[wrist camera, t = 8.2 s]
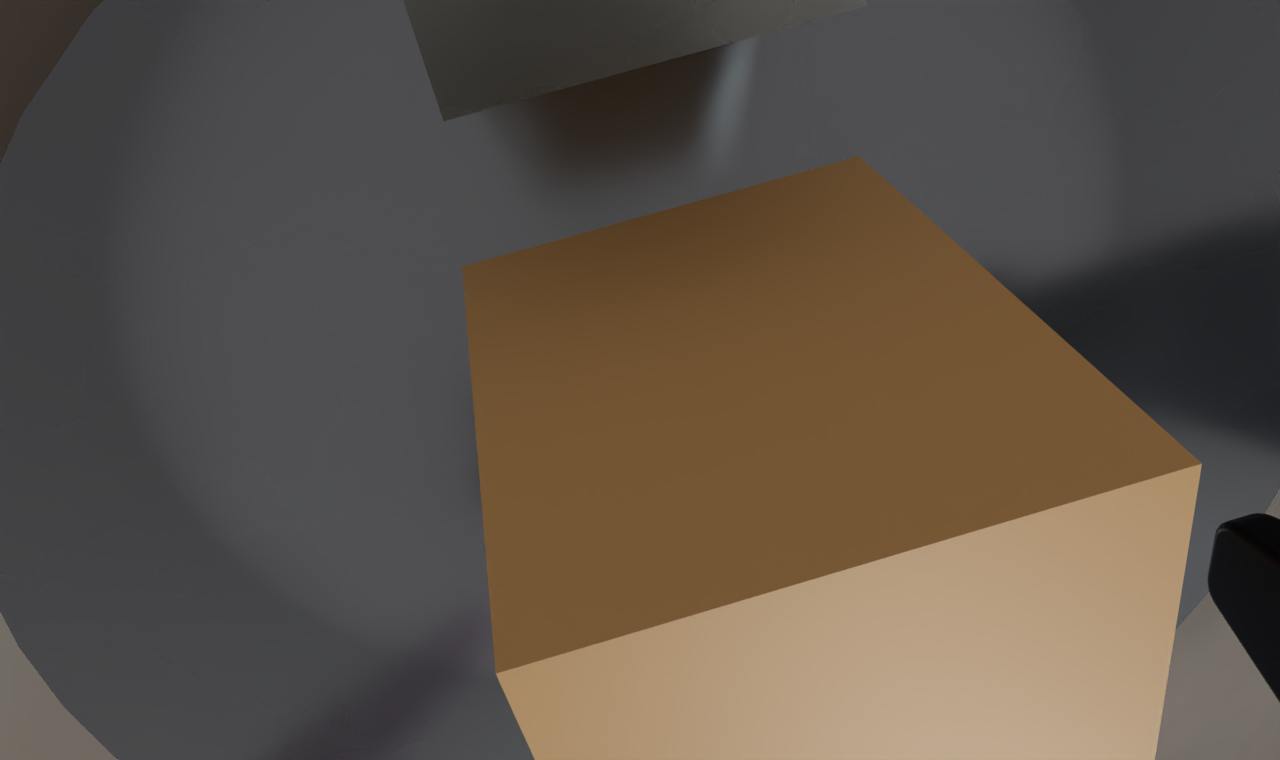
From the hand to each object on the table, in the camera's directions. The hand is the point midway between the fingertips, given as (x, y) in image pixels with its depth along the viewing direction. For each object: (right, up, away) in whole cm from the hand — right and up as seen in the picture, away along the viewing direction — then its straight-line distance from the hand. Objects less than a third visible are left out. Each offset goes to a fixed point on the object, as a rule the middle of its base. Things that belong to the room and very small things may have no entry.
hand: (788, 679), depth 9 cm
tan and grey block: (0, +1, +2) cm, 3 cm away
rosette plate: (-1, +2, +3) cm, 4 cm away
